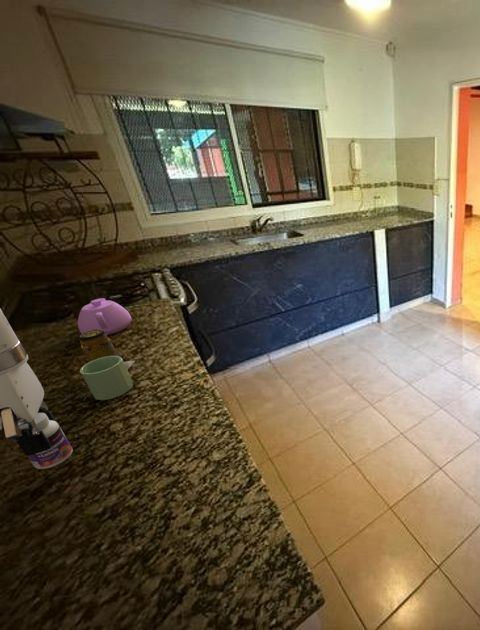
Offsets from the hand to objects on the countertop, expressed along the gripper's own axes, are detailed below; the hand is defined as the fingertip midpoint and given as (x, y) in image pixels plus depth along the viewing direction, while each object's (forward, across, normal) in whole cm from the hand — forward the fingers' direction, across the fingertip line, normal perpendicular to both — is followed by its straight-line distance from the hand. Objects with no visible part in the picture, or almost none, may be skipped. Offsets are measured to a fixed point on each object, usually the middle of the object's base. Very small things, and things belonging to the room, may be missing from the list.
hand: (42, 439), depth 64 cm
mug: (+8, -25, +7) cm, 27 cm away
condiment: (+8, -36, +6) cm, 38 cm away
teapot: (+9, -70, +3) cm, 70 cm away
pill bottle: (+5, 0, 0) cm, 5 cm away
